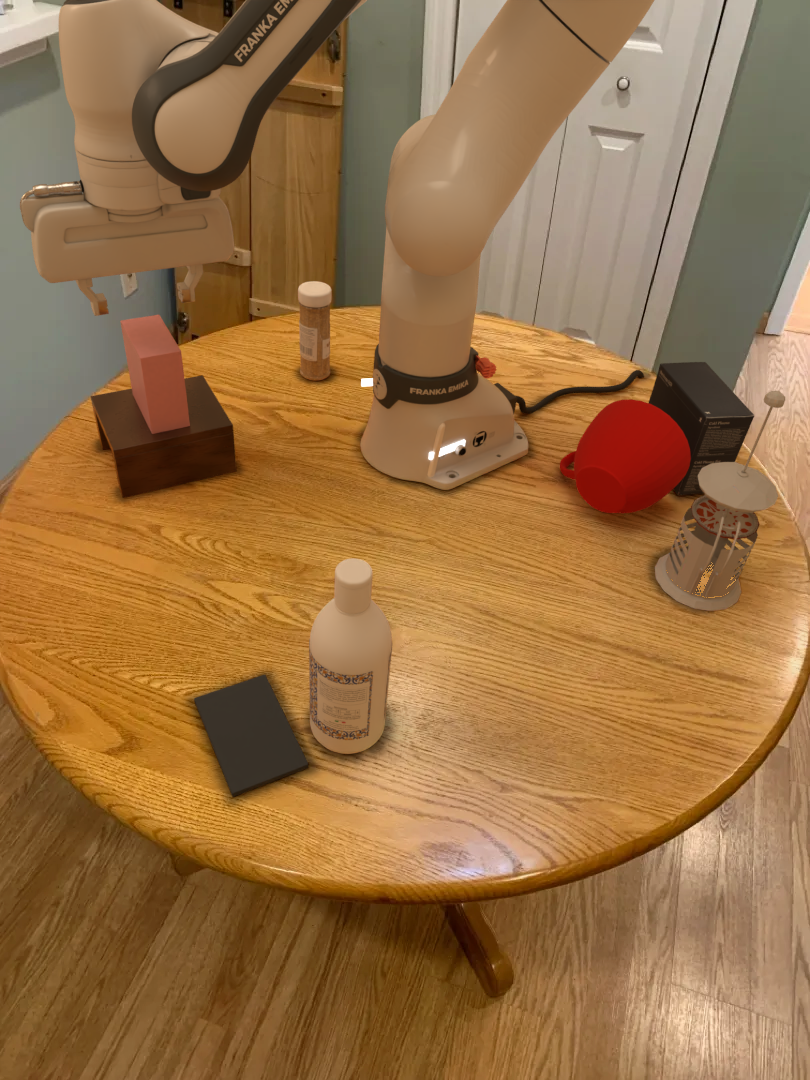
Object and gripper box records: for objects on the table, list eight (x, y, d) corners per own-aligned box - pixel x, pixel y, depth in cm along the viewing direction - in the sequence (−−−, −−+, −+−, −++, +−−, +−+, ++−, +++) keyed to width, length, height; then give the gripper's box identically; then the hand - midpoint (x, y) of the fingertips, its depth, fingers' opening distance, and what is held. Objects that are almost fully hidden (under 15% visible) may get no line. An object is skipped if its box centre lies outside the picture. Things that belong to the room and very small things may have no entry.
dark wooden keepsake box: (207, 420, 113) (202, 374, 108) (236, 471, 105) (233, 424, 101) (100, 442, 108) (90, 396, 103) (122, 498, 100) (113, 450, 95)
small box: (725, 493, 109) (757, 415, 101) (677, 497, 108) (706, 419, 100) (679, 434, 119) (705, 359, 111) (634, 438, 117) (658, 361, 109)
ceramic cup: (553, 533, 110) (593, 489, 115) (666, 535, 97) (706, 485, 101) (512, 450, 105) (556, 407, 110) (625, 440, 92) (669, 392, 96)
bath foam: (345, 682, 82) (351, 528, 69) (399, 723, 79) (417, 569, 66) (294, 726, 78) (289, 570, 65) (349, 770, 75) (356, 617, 61)
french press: (743, 564, 99) (830, 379, 82) (738, 632, 91) (834, 442, 74) (659, 541, 101) (727, 356, 84) (647, 606, 93) (720, 415, 76)
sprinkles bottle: (336, 377, 123) (337, 290, 114) (308, 384, 121) (308, 297, 112) (320, 362, 126) (321, 277, 117) (293, 369, 124) (291, 283, 115)
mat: (265, 677, 82) (265, 673, 81) (308, 767, 75) (308, 764, 74) (194, 701, 79) (193, 697, 79) (232, 797, 72) (232, 793, 72)
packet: (169, 387, 106) (159, 314, 99) (190, 426, 100) (181, 351, 93) (132, 394, 104) (120, 320, 97) (152, 434, 98) (140, 358, 91)
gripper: (20, 199, 77) (50, 334, 87) (235, 179, 85) (242, 306, 95) (9, 175, 81) (39, 307, 91) (216, 158, 89) (224, 281, 99)
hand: (144, 306), depth 93 cm, fingers open, 8 cm apart
